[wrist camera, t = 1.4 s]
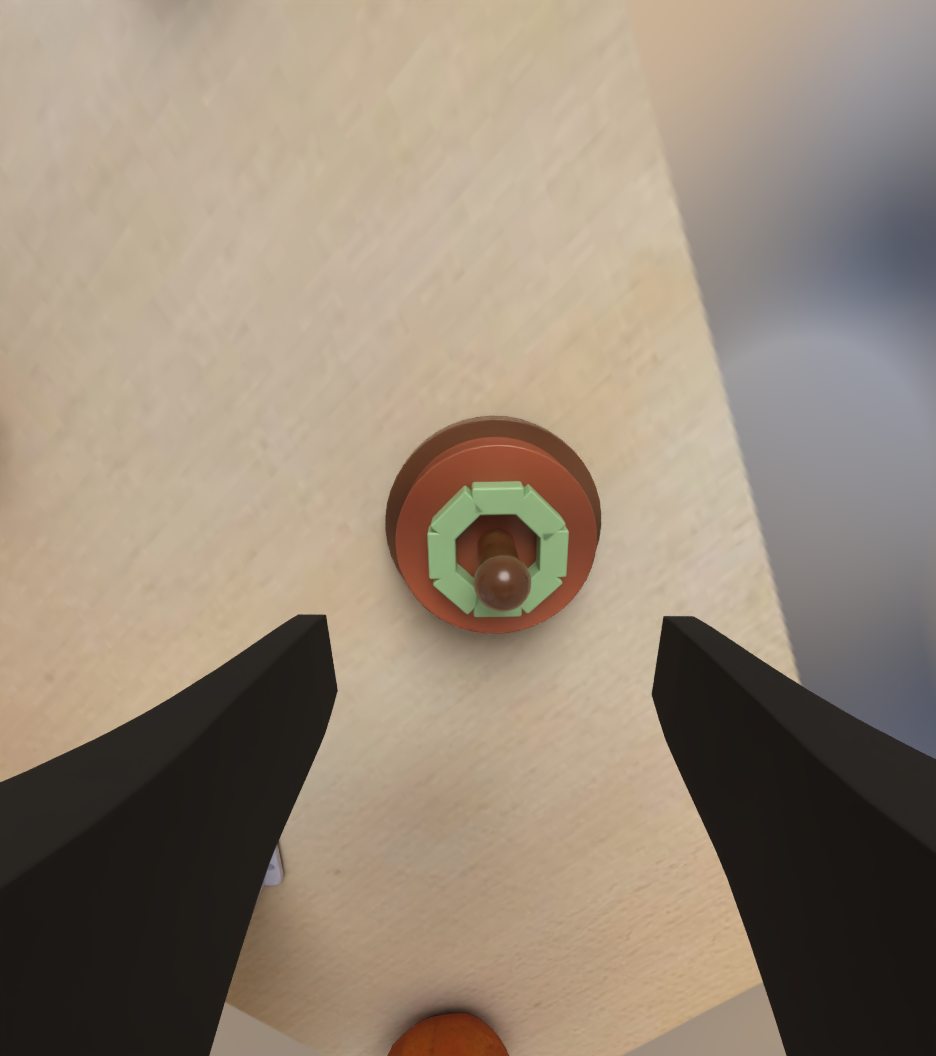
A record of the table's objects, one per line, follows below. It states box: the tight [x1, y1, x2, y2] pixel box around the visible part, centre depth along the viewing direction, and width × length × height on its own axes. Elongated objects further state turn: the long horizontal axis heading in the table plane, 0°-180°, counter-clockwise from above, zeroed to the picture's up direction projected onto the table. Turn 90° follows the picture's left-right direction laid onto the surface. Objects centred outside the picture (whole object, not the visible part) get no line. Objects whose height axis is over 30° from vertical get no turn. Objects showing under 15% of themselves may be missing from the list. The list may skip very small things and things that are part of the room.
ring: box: [427, 481, 569, 617], centre depth 18 cm, size 5×5×1 cm
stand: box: [386, 416, 601, 633], centre depth 17 cm, size 9×9×7 cm
